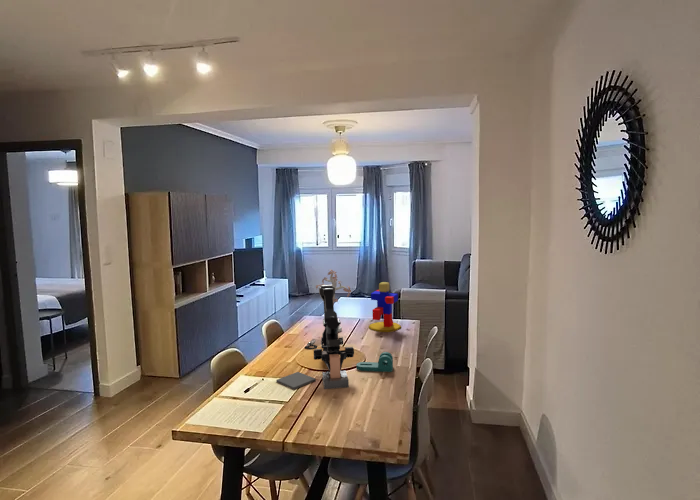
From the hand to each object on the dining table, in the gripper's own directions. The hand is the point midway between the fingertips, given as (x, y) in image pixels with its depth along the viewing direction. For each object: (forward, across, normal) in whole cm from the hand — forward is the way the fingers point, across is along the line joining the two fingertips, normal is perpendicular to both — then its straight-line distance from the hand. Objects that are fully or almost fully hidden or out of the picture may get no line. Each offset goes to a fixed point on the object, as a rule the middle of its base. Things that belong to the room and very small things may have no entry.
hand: (335, 370), depth 198 cm
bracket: (-6, +21, +16) cm, 27 cm away
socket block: (+4, 0, +6) cm, 7 cm away
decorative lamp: (-54, +7, +64) cm, 84 cm away
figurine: (-56, +41, +66) cm, 95 cm away
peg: (+4, 0, +6) cm, 7 cm away
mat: (0, -18, +10) cm, 20 cm away
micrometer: (-36, -7, +46) cm, 59 cm away
